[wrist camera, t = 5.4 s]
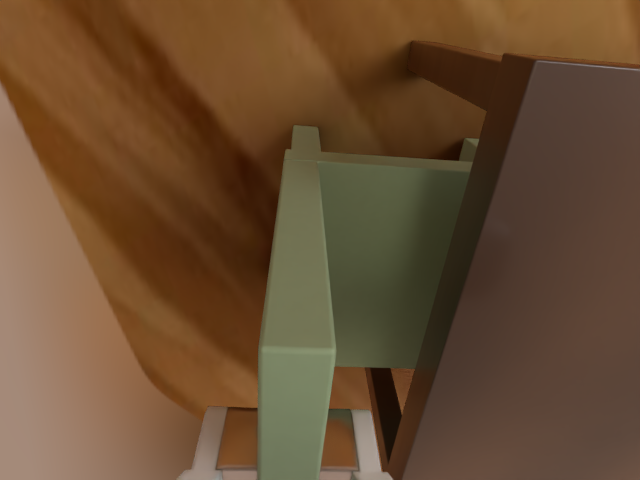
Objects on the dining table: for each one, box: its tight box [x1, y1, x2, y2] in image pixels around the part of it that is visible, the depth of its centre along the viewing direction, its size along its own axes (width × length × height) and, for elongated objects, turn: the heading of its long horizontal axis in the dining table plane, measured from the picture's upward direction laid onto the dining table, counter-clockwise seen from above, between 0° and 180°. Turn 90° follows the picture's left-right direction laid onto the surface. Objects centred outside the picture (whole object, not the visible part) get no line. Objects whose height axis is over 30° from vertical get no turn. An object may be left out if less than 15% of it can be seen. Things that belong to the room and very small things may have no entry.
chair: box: [257, 125, 479, 480], centre depth 15 cm, size 10×10×15 cm
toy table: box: [365, 41, 640, 480], centre depth 17 cm, size 14×18×11 cm
